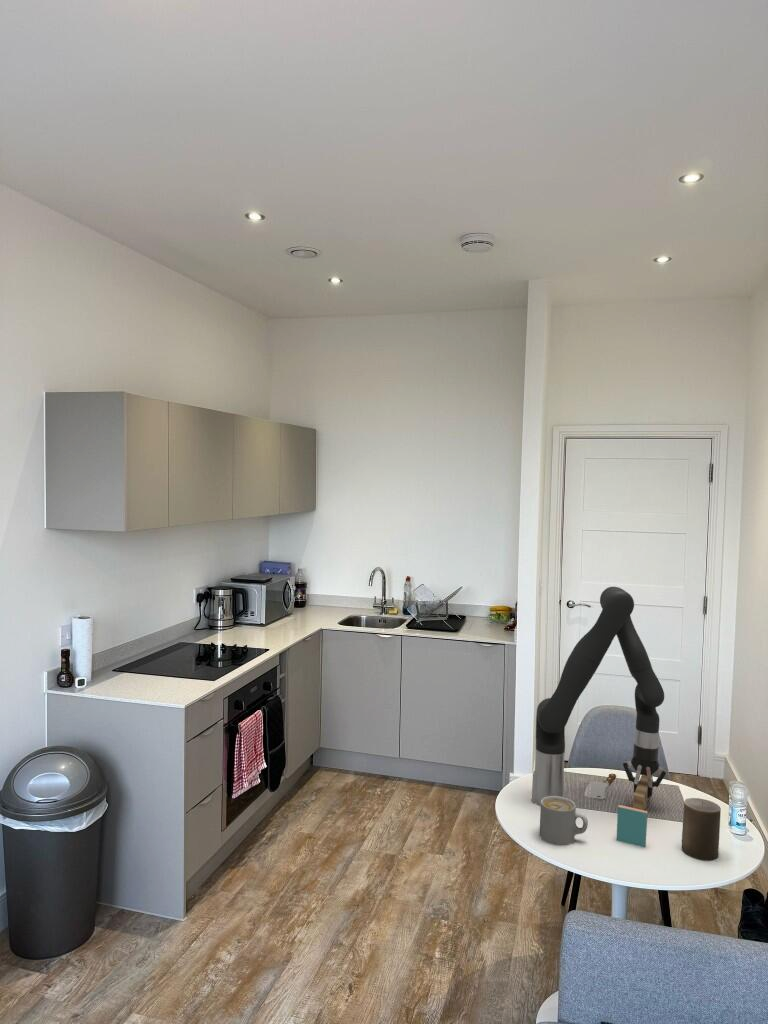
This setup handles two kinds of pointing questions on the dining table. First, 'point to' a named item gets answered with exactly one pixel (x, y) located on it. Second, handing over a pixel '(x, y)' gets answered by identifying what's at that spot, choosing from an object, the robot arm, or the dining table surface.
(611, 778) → the kitchen cleaver
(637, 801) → the curved tan slat
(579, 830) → the coffee mug
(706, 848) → the pillar candle
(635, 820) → the tile
